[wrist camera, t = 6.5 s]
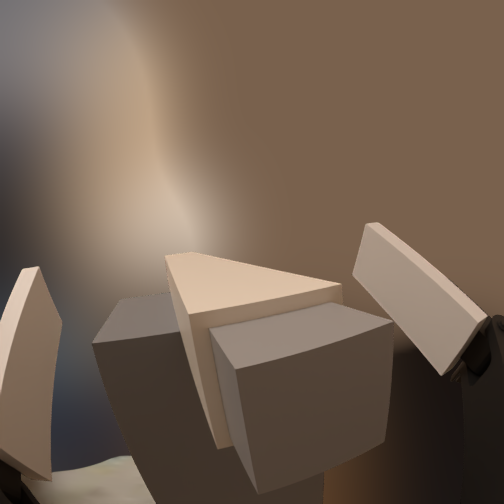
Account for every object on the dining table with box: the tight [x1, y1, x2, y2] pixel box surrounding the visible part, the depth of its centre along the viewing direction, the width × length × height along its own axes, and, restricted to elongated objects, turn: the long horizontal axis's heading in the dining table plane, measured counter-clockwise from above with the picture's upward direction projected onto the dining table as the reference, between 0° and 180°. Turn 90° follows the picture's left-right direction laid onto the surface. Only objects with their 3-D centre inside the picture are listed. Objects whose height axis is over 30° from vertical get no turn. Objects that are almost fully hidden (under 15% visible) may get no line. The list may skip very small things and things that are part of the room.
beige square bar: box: [165, 252, 394, 495], centre depth 17 cm, size 3×28×3 cm, turn 18°
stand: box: [92, 292, 324, 504], centre depth 21 cm, size 14×14×32 cm
